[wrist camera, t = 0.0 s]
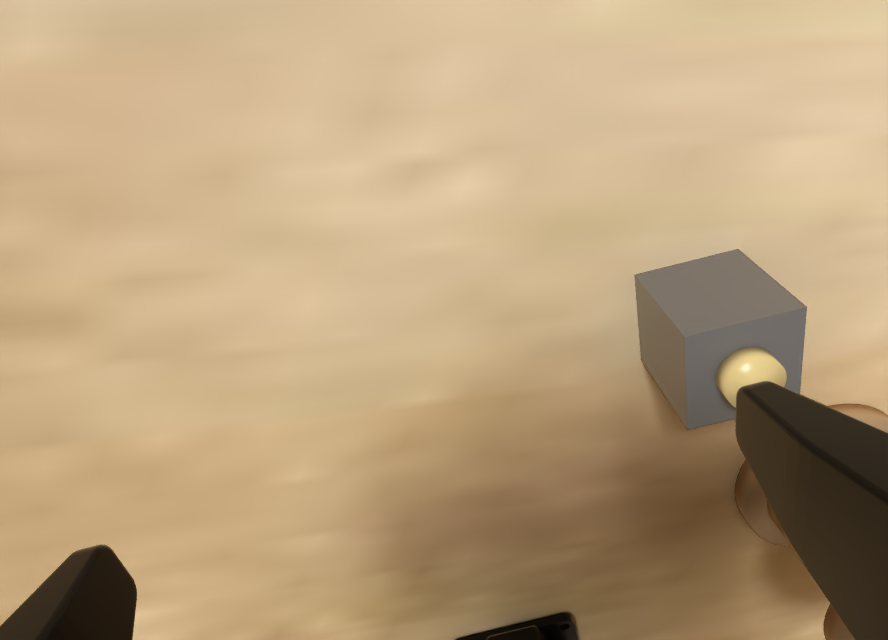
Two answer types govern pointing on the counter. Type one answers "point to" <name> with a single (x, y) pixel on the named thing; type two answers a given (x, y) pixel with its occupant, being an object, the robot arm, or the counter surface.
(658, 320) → the block
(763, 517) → the bobbin
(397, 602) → the counter surface
